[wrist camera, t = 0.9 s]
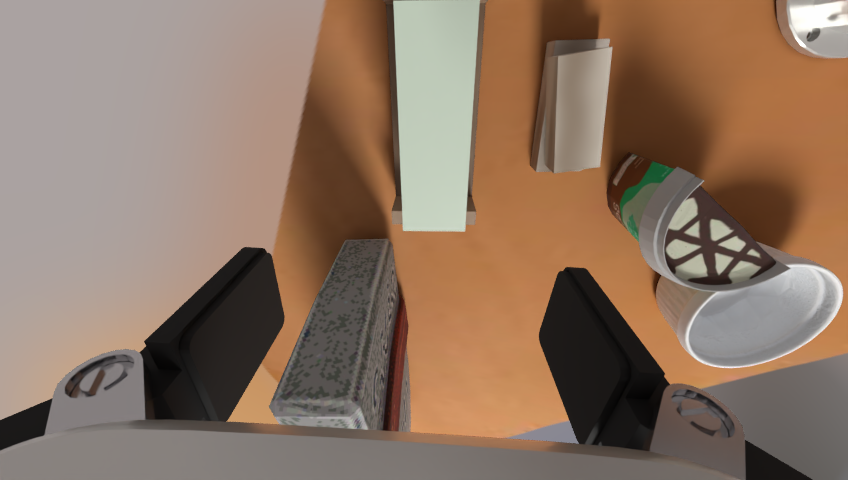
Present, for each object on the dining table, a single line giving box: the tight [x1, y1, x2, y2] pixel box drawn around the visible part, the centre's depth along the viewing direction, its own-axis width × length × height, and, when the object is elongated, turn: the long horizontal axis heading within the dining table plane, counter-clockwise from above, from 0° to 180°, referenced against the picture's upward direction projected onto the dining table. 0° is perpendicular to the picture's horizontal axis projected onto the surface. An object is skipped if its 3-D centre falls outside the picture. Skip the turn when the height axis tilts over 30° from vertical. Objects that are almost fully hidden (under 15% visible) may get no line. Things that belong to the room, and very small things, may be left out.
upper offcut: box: [545, 47, 612, 173], centre depth 25 cm, size 4×8×2 cm, turn 9°
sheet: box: [393, 0, 480, 231], centre depth 23 cm, size 4×12×12 cm, turn 0°
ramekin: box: [656, 242, 843, 368], centre depth 33 cm, size 13×13×7 cm
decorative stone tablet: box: [269, 239, 411, 432], centre depth 33 cm, size 19×6×30 cm
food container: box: [607, 152, 791, 292], centre depth 27 cm, size 12×6×10 cm, turn 54°
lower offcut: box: [530, 39, 610, 172], centre depth 27 cm, size 4×10×2 cm, turn 1°
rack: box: [383, 0, 488, 225], centre depth 25 cm, size 7×17×6 cm, turn 0°
